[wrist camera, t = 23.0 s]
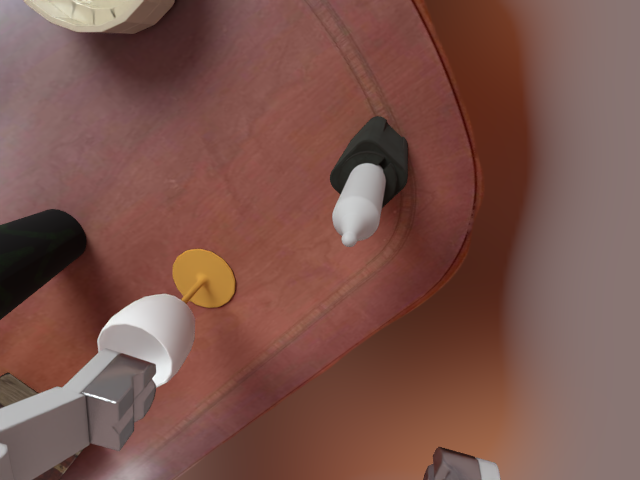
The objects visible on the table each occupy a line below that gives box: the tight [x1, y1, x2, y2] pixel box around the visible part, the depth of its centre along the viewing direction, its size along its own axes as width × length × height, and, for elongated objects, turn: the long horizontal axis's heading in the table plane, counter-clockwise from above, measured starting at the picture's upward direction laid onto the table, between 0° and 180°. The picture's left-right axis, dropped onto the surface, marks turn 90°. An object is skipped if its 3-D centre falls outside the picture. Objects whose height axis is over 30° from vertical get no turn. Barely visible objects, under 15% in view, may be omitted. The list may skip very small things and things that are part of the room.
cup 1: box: [0, 209, 86, 320], centre depth 51 cm, size 10×10×16 cm
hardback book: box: [0, 373, 83, 480], centre depth 78 cm, size 29×19×5 cm, turn 142°
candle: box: [330, 116, 408, 247], centre depth 34 cm, size 5×5×25 cm
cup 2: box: [97, 249, 236, 388], centre depth 49 cm, size 9×9×16 cm
